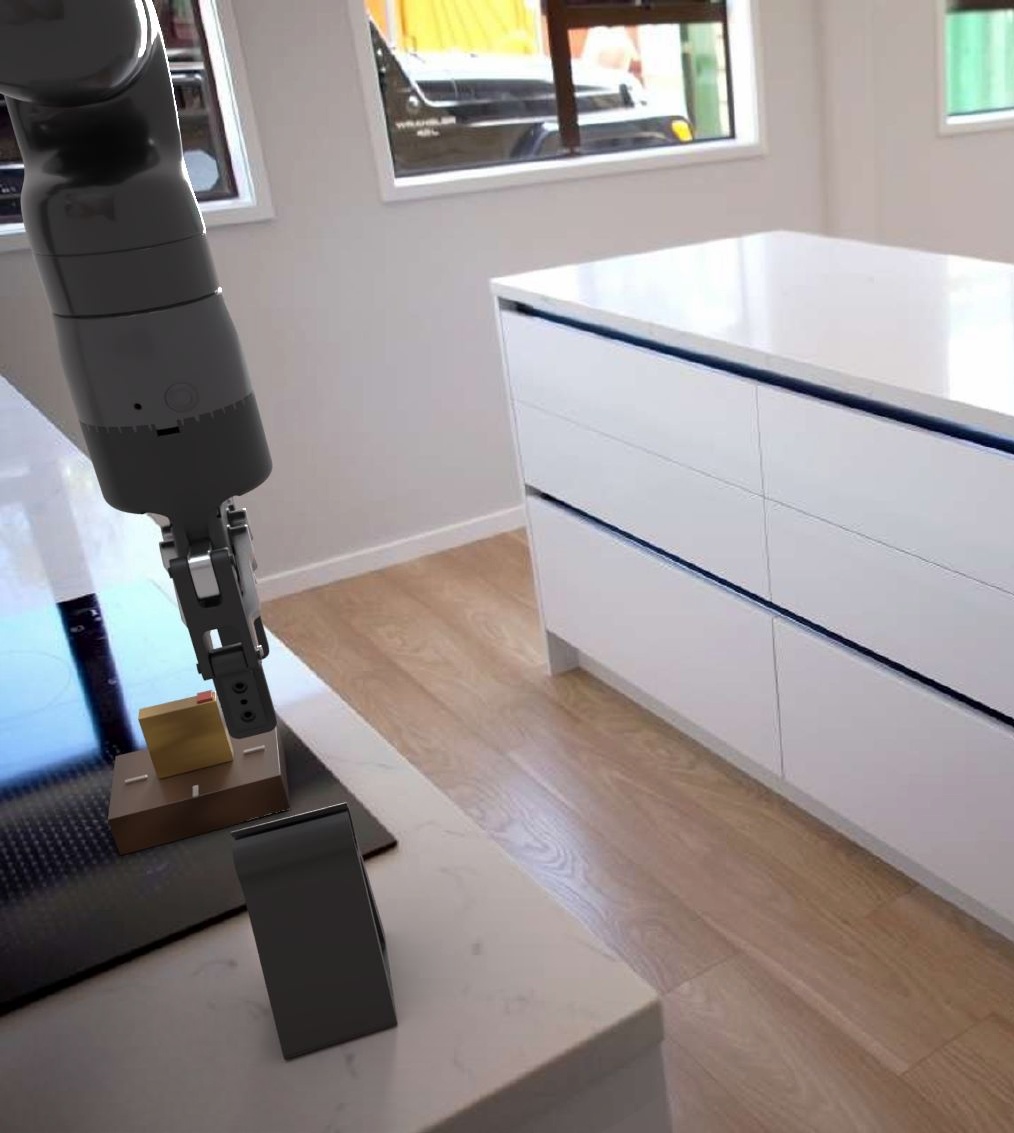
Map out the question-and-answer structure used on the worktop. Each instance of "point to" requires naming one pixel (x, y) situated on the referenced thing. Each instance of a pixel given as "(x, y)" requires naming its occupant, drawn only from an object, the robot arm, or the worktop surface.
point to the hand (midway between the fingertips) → (252, 694)
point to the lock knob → (186, 734)
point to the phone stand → (315, 928)
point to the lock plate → (196, 794)
